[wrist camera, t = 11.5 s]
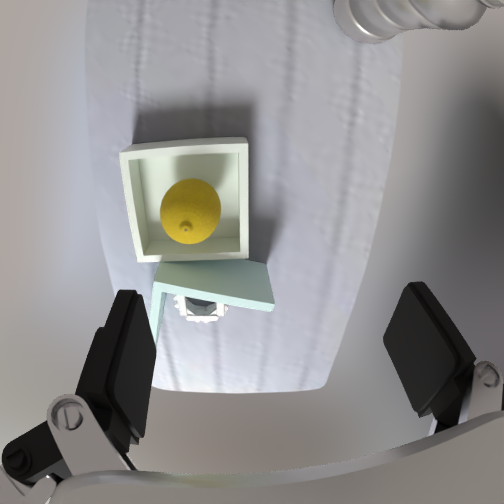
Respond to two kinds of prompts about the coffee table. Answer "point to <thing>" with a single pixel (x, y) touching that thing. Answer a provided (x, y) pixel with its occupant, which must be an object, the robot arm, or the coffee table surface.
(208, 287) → the l-shaped corner panel
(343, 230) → the coffee table surface
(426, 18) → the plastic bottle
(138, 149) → the bin
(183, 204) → the lemon
